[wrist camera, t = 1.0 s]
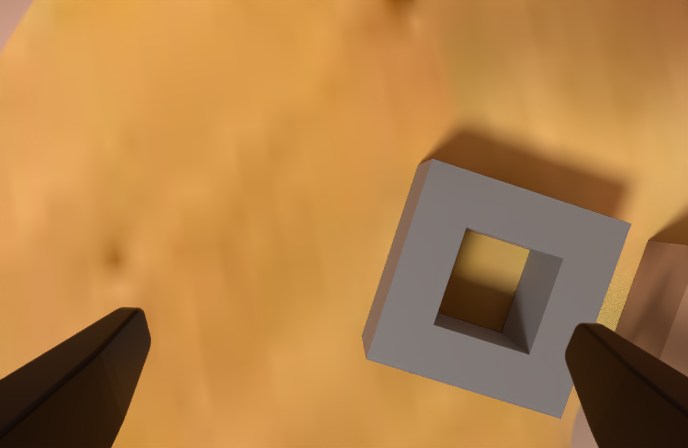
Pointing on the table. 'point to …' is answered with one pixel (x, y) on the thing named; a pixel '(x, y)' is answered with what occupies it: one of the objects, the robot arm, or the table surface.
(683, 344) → the socket block
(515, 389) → the rack block
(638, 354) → the robot arm
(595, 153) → the table surface
